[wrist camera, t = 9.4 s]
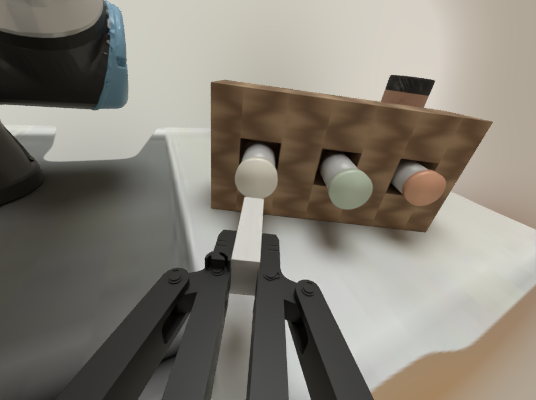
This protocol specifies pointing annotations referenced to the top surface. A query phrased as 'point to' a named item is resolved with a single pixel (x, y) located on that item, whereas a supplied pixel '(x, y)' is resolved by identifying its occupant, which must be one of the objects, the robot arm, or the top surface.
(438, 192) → the terracotta button
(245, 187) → the cream button
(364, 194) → the sage button
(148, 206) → the top surface
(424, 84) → the travel mug
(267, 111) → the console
